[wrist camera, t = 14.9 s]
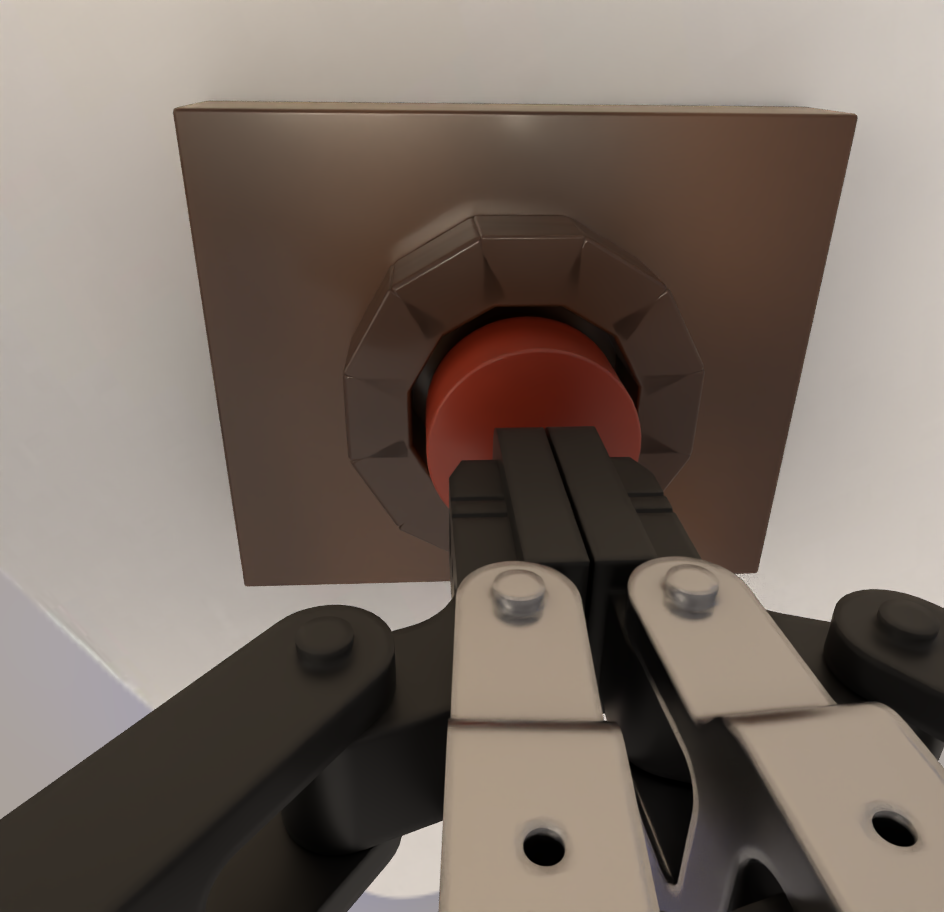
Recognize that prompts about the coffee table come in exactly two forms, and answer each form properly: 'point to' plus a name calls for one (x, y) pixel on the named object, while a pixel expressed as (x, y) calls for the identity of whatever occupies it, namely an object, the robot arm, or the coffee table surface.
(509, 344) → the button
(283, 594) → the coffee table surface
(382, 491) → the button block
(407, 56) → the coffee table surface
